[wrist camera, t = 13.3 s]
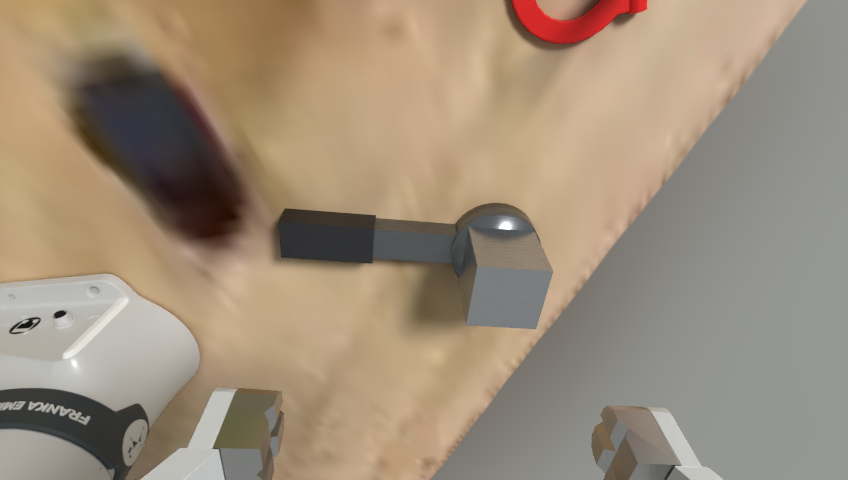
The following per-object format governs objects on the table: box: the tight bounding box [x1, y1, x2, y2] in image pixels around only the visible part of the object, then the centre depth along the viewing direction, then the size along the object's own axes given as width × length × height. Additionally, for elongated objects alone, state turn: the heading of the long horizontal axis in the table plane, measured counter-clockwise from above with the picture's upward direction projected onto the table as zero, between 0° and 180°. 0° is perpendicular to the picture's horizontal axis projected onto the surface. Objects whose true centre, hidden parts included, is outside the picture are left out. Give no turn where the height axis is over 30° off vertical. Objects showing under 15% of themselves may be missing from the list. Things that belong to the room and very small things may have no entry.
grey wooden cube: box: [459, 227, 553, 329], centre depth 39 cm, size 6×6×6 cm
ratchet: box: [279, 203, 541, 278], centre depth 40 cm, size 23×8×6 cm, turn 84°
